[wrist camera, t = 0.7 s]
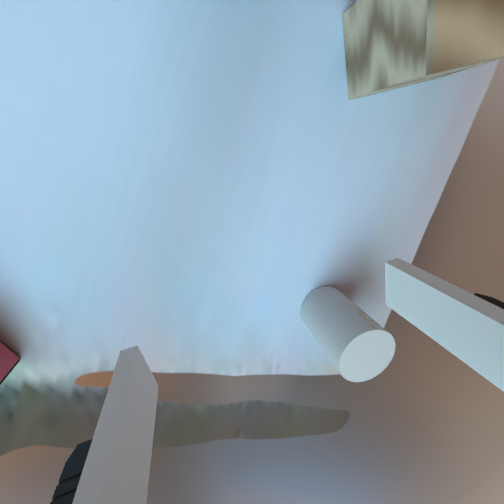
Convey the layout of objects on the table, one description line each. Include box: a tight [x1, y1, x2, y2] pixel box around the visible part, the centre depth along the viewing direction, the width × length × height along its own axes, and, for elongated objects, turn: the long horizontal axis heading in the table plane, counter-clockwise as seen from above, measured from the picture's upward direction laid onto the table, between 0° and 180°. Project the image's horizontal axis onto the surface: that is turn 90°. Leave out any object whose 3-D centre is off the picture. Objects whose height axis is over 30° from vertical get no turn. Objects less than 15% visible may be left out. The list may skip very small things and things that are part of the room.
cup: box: [300, 286, 395, 382], centre depth 39 cm, size 8×8×12 cm
